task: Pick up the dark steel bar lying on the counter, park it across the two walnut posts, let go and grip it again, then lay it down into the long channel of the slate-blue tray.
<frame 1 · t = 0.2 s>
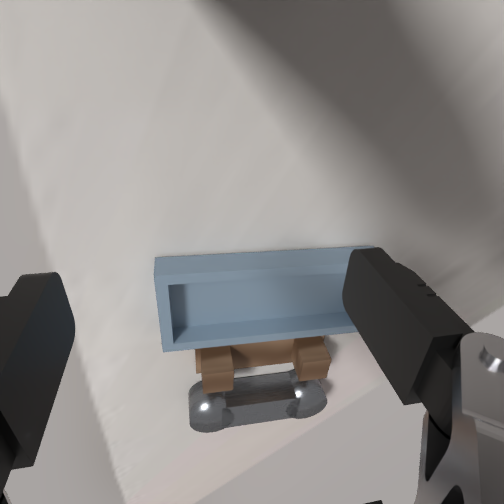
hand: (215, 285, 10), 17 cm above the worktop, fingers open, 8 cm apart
walnut posts: (259, 345, 38), on the worktop
slate-blue tray: (266, 289, 33), on the worktop
steel bar: (254, 386, 42), on the worktop
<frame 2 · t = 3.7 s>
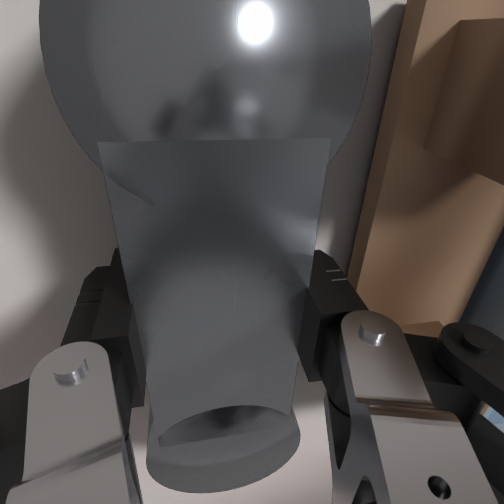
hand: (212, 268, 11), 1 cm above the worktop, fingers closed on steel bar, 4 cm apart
walnut posts: (418, 238, 13), on the worktop
steel bar: (211, 253, 11), on the worktop, touching gripper
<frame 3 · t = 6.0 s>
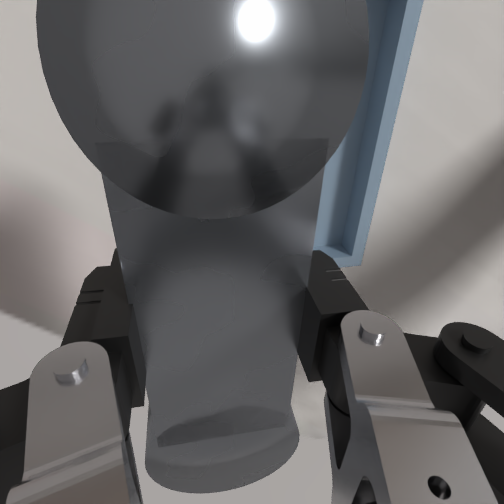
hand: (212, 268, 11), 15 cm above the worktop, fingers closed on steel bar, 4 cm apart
slate-blue tray: (314, 137, 25), on the worktop
steel bar: (210, 253, 11), point 14 cm above the worktop, touching gripper
when the fingers open (6 cm above the worktop, at t = 8.4 s): steel bar drops 1 cm, resting on walnut posts.
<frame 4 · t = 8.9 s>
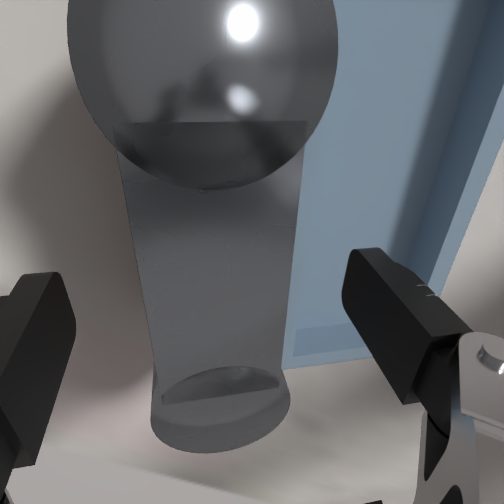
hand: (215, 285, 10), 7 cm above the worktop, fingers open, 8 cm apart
slate-blue tray: (362, 183, 17), on the worktop
steel bar: (208, 232, 12), point 4 cm above the worktop, touching walnut posts
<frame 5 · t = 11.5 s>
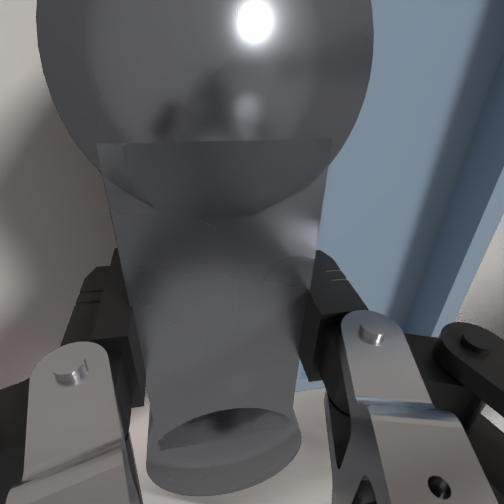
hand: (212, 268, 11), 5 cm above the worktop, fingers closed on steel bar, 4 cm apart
slate-blue tray: (376, 195, 16), on the worktop
steel bar: (211, 254, 11), point 4 cm above the worktop, touching gripper, walnut posts
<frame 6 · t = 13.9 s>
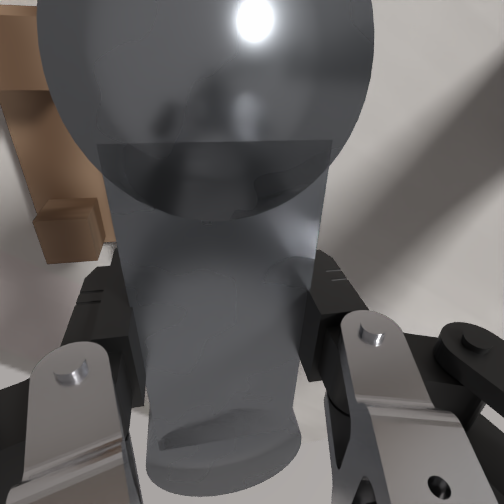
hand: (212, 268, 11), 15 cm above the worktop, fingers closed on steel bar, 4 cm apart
walnut posts: (62, 142, 22), on the worktop
steel bar: (211, 255, 11), point 15 cm above the worktop, touching gripper
when the fingers open (3 cm above the worktop, at t = 16.4 s): steel bar drops 1 cm, resting on slate-blue tray.
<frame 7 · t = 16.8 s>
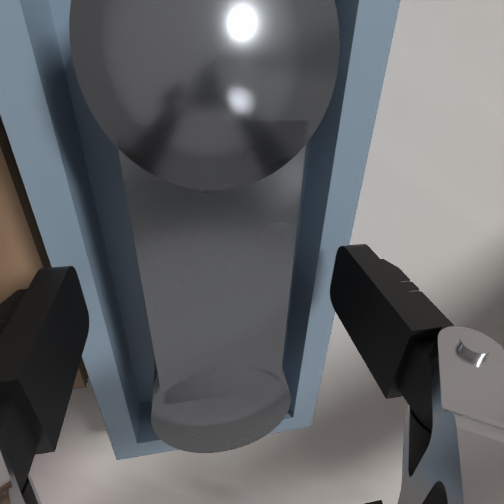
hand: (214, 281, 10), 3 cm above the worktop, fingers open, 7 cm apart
slate-blue tray: (205, 226, 13), on the worktop
steel bar: (209, 232, 12), resting on slate-blue tray
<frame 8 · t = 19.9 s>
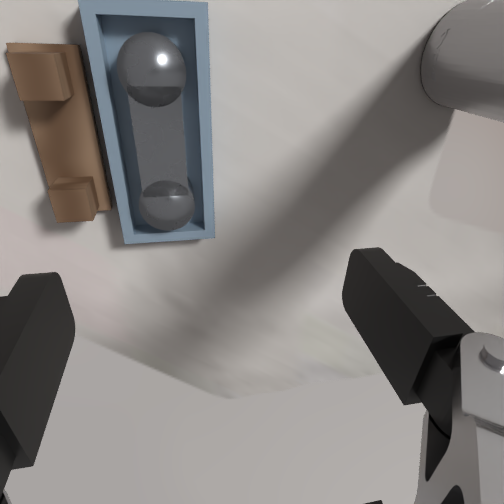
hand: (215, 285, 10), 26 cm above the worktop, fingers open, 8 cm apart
walnut posts: (68, 135, 31), on the worktop
slate-blue tray: (160, 134, 32), on the worktop
steel bar: (161, 135, 32), resting on slate-blue tray
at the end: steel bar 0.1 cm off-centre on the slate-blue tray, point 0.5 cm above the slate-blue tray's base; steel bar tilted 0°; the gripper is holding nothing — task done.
